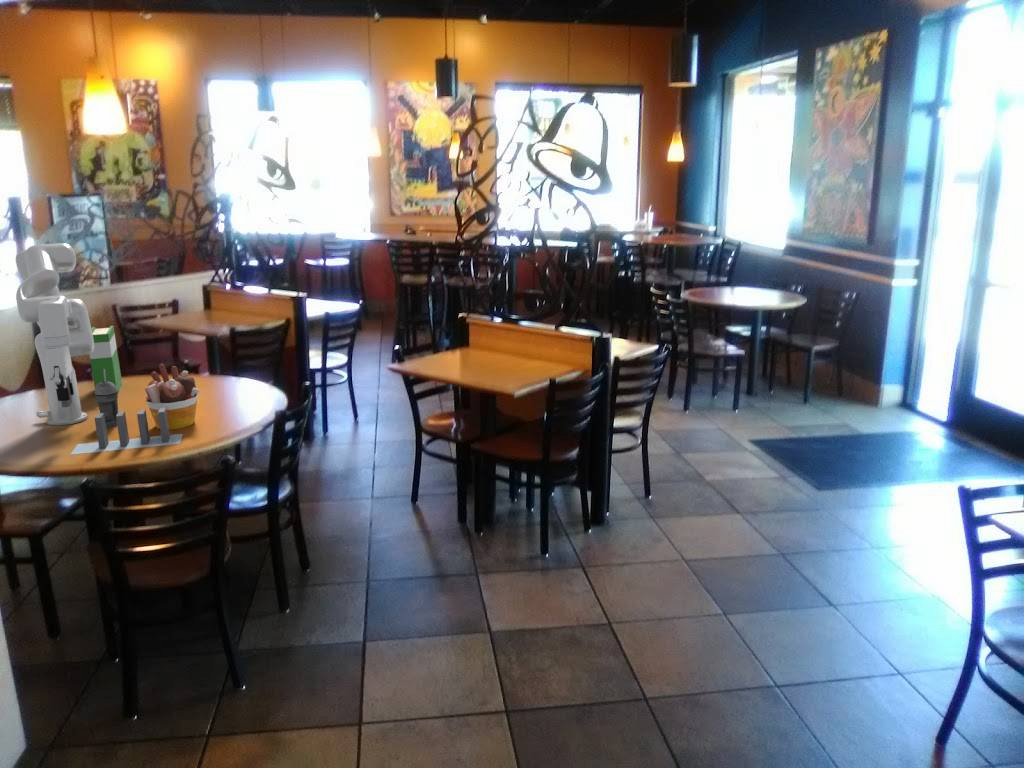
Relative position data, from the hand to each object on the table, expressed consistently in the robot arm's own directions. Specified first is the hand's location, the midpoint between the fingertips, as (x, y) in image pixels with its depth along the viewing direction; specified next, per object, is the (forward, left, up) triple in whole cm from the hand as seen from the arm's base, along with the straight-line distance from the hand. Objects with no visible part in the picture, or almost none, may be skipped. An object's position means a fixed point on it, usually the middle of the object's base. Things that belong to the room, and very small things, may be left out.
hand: (66, 397), depth 255 cm
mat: (+17, -8, -15) cm, 24 cm away
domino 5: (+28, -8, -15) cm, 33 cm away
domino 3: (+16, -8, -15) cm, 23 cm away
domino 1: (0, 0, -3) cm, 3 cm away
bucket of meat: (+29, +9, -16) cm, 34 cm away
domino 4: (+22, -8, -15) cm, 28 cm away
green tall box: (-1, +66, -16) cm, 68 cm away
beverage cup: (+8, +16, -16) cm, 24 cm away
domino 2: (+10, -8, -15) cm, 20 cm away
